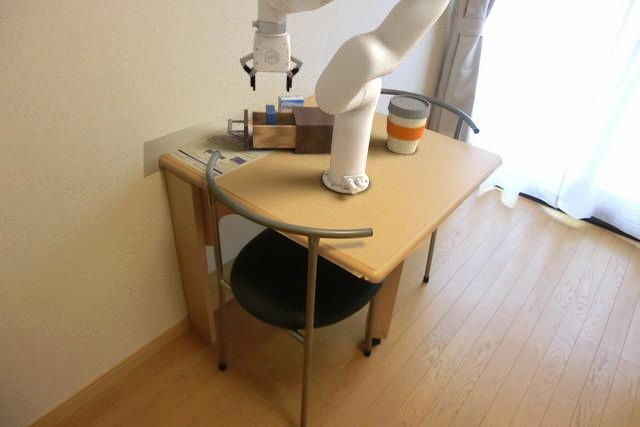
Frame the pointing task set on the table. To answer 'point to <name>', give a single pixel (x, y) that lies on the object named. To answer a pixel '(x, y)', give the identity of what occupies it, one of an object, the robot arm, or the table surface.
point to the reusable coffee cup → (406, 122)
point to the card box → (270, 115)
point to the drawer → (268, 130)
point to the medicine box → (289, 102)
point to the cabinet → (313, 130)
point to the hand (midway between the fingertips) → (271, 89)
